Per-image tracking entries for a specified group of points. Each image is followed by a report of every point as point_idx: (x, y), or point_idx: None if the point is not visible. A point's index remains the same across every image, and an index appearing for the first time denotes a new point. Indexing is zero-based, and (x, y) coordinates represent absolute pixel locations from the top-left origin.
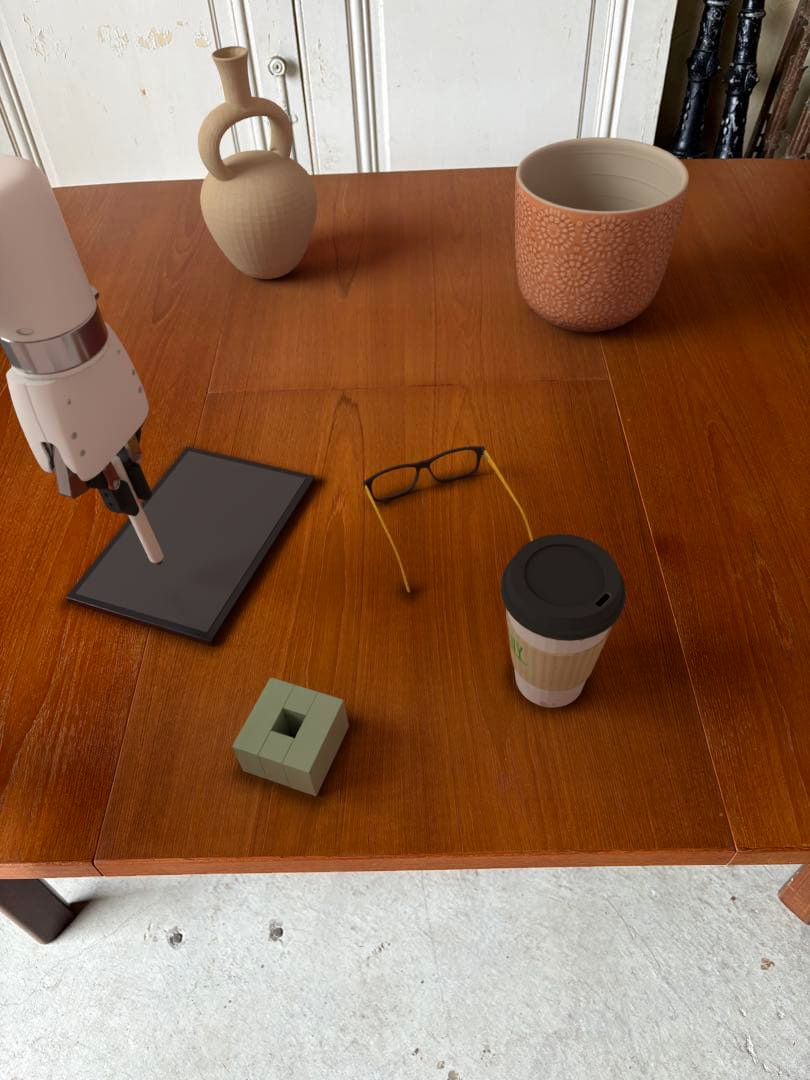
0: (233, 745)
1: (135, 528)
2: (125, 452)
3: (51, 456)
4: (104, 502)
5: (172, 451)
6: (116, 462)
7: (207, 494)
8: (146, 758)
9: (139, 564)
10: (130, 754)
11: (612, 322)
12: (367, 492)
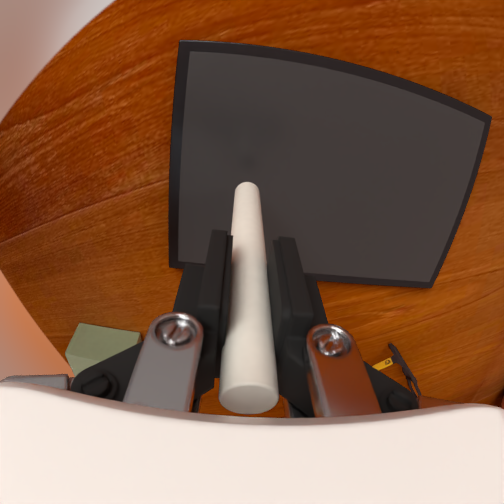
0: (65, 354)
1: (232, 228)
2: (305, 401)
3: (27, 415)
4: (181, 278)
5: (485, 91)
6: (242, 413)
7: (413, 173)
8: (47, 250)
9: (267, 121)
10: (42, 235)
11: (501, 406)
12: (384, 364)
